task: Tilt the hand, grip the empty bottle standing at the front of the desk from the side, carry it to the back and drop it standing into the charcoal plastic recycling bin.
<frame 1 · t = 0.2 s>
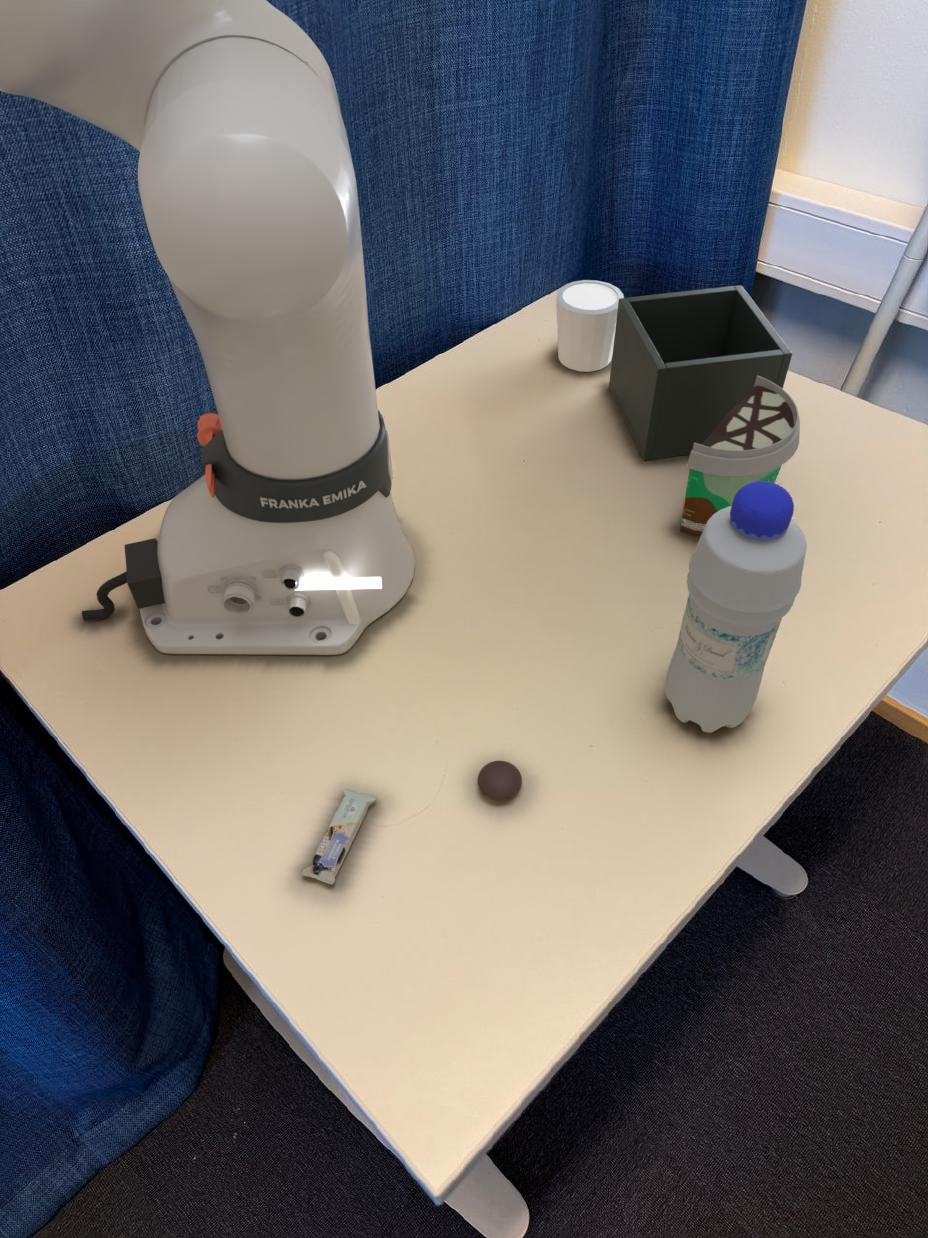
food container: (736, 517, 79), on the table
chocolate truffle: (499, 788, 62), on the table
white cylinder: (584, 358, 96), on the table
bin: (684, 414, 89), on the table
bottle: (705, 706, 66), on the table
granola bar: (340, 839, 59), on the table
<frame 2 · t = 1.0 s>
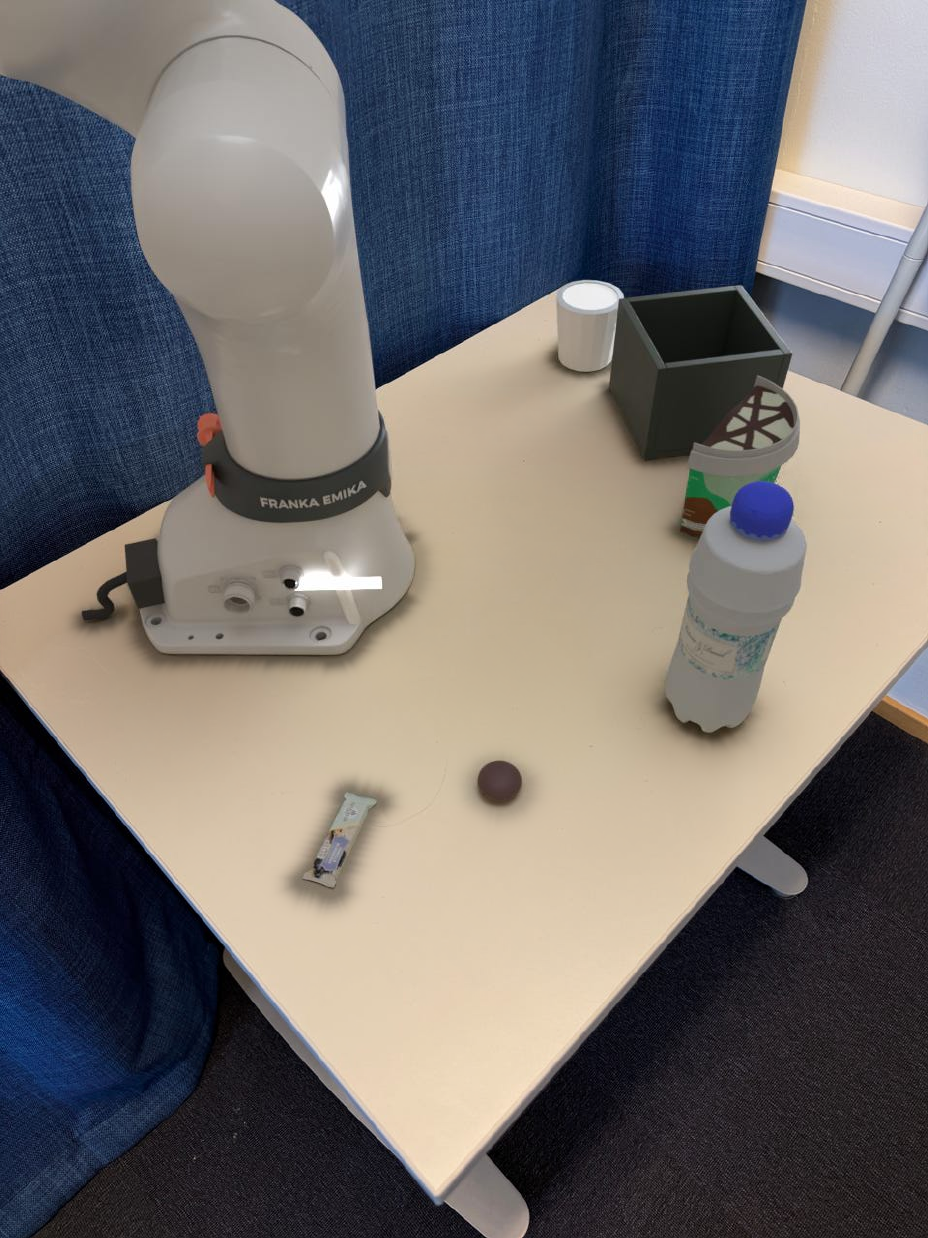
nothing on the table moved.
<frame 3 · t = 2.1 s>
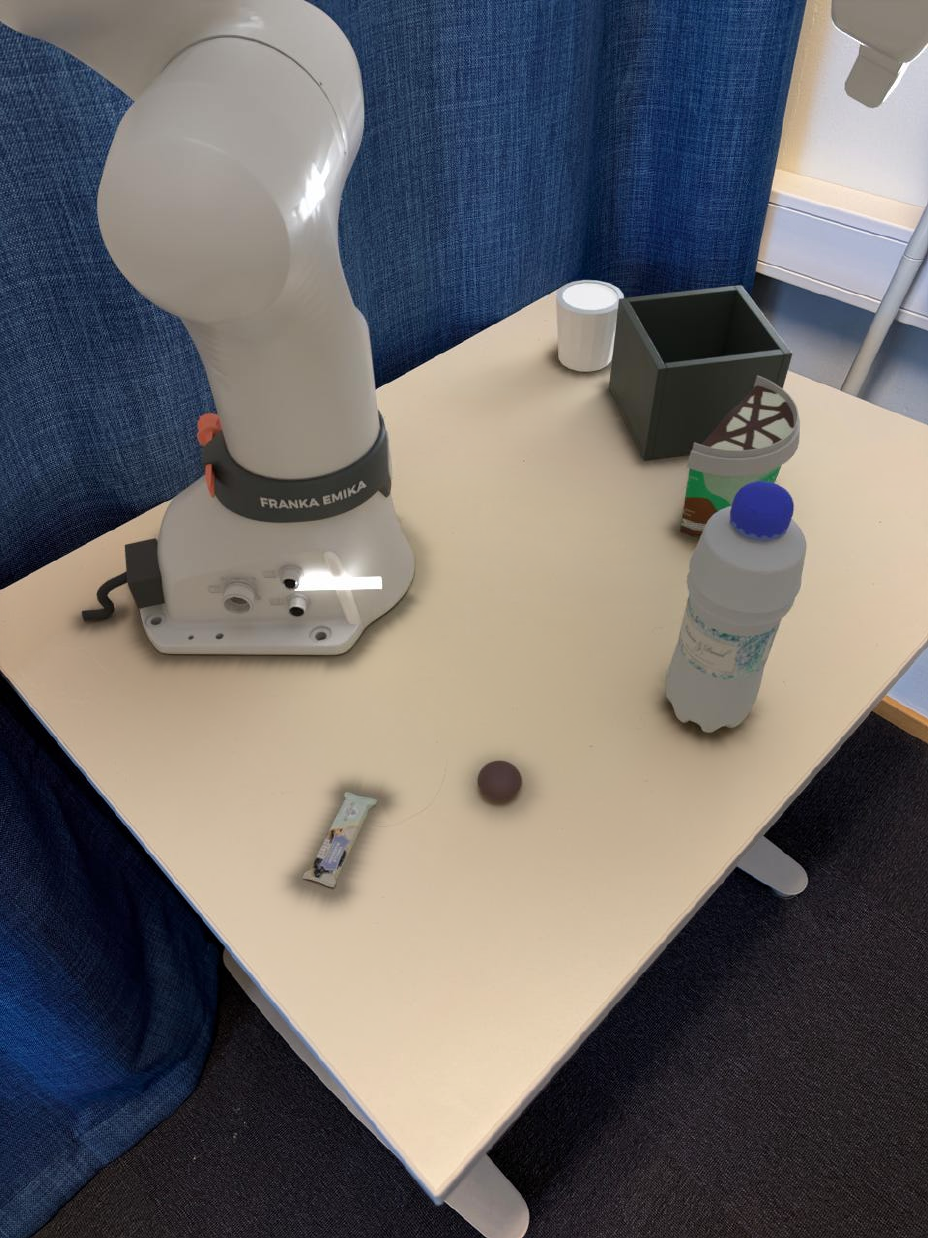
hand: (917, 34, 40), 40 cm above the table, tool tilted 20°, fingers open, 8 cm apart
nothing on the table moved.
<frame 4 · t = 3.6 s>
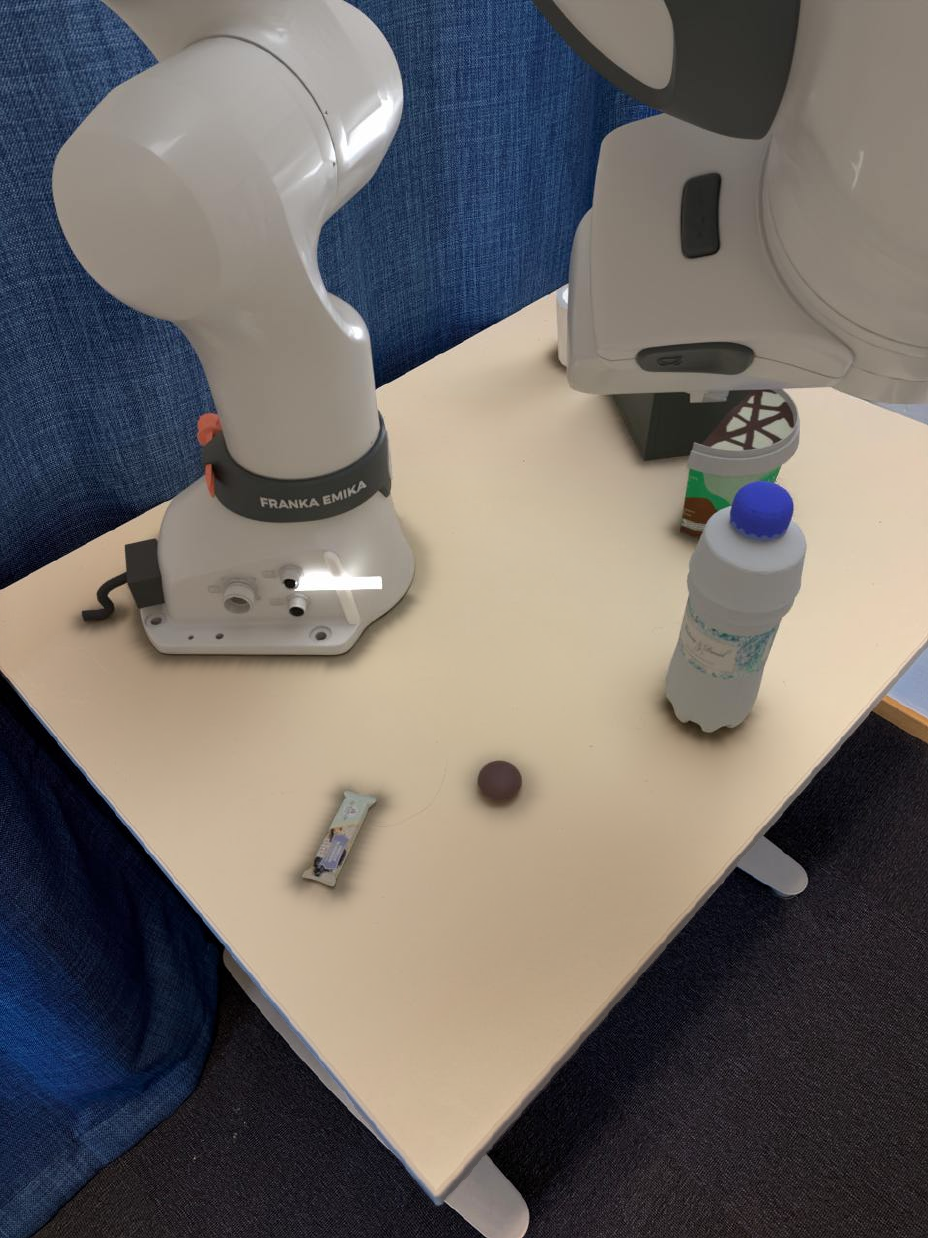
hand: (826, 379, 37), 32 cm above the table, tool tilted 40°, fingers open, 8 cm apart
nothing on the table moved.
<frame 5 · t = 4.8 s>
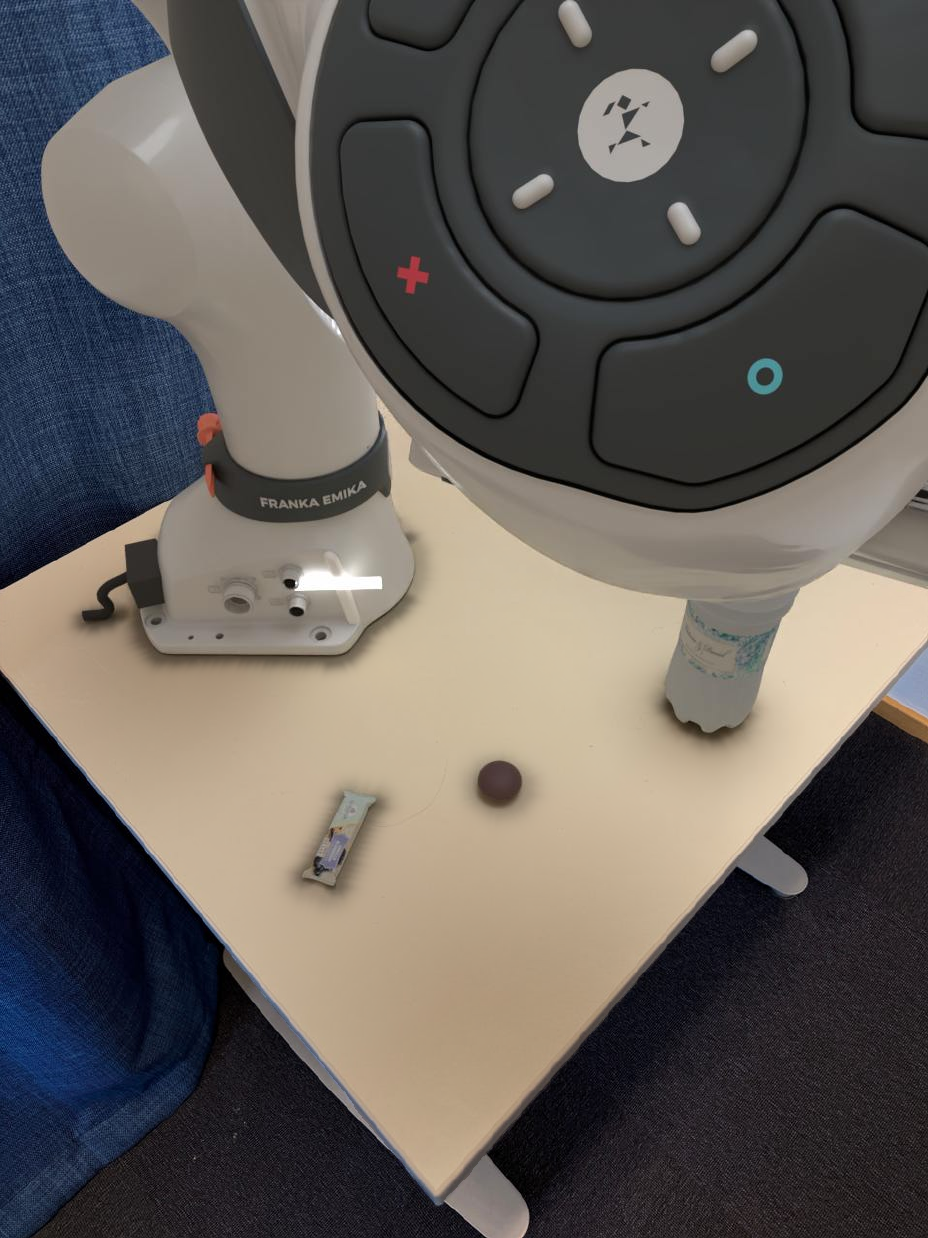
hand: (745, 497, 37), 29 cm above the table, tool tilted 45°, fingers open, 8 cm apart
nothing on the table moved.
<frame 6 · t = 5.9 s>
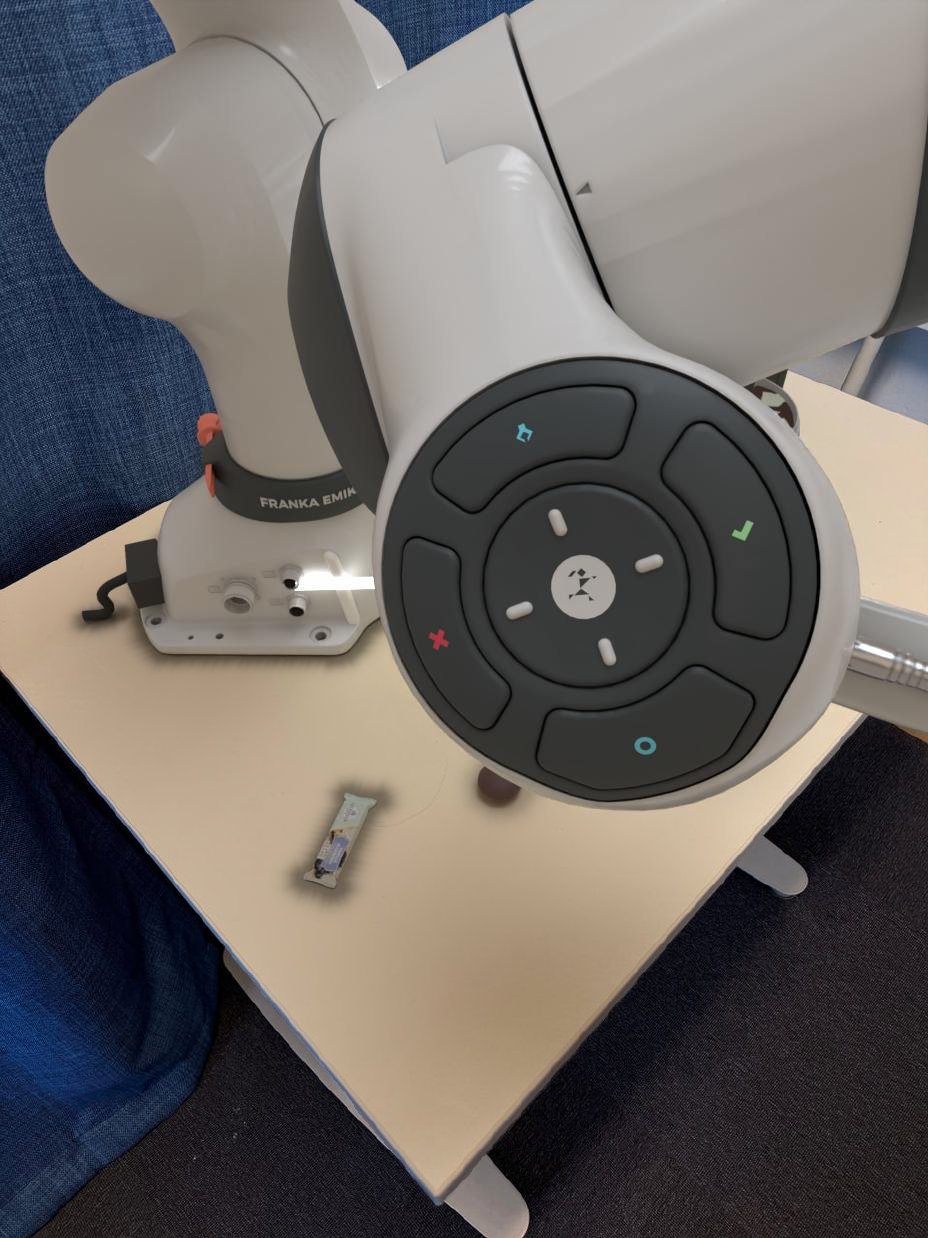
hand: (717, 604, 42), 22 cm above the table, tool tilted 45°, fingers open, 8 cm apart
nothing on the table moved.
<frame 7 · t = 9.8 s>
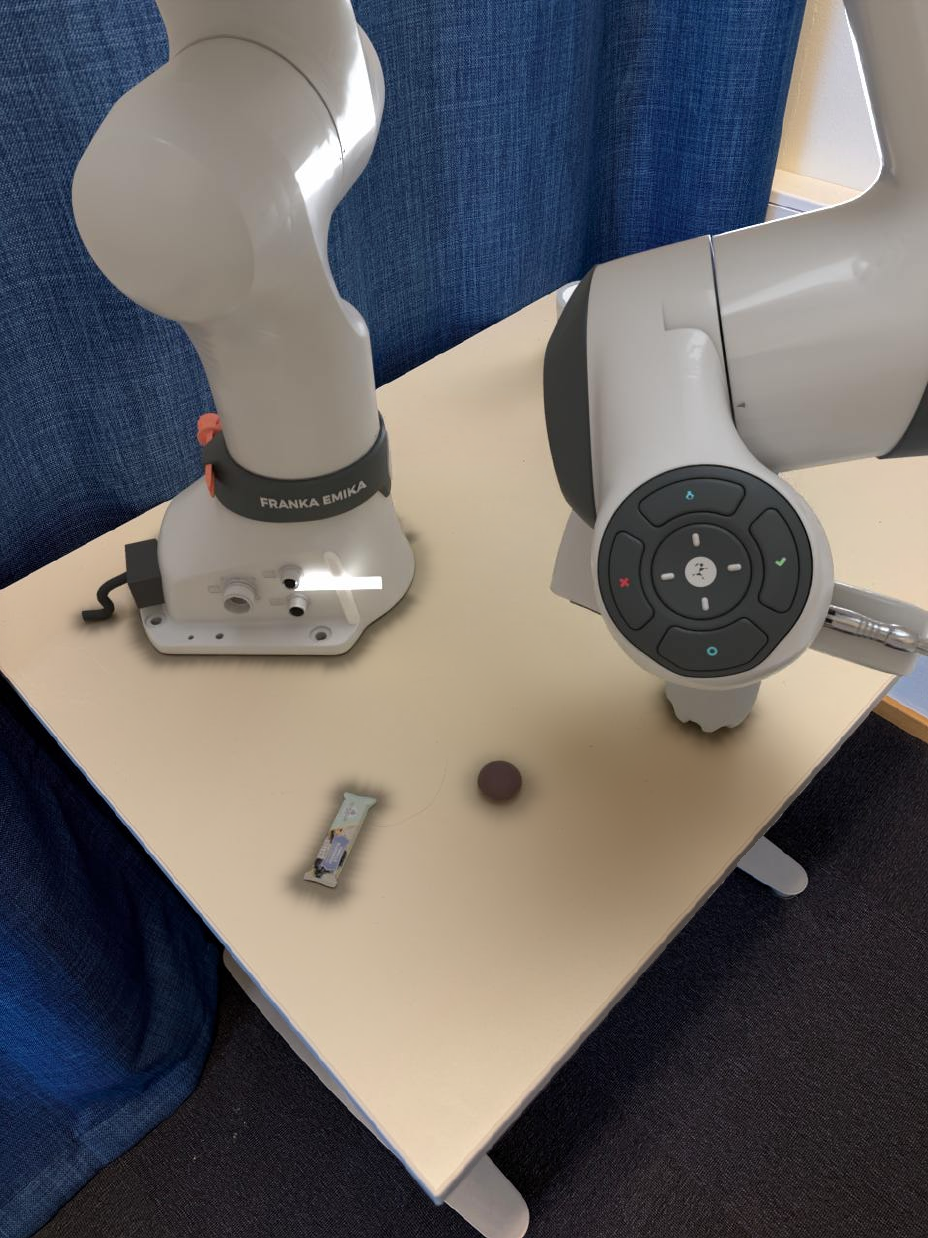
hand: (739, 590, 57), 11 cm above the table, tool tilted 45°, fingers closed on bottle, 6 cm apart
bottle: (705, 706, 66), on the table, touching gripper
everything else where it was.
when the fingers open (12 cm above the table, at t = 24.0 s): bottle stays where it is, resting on bin.
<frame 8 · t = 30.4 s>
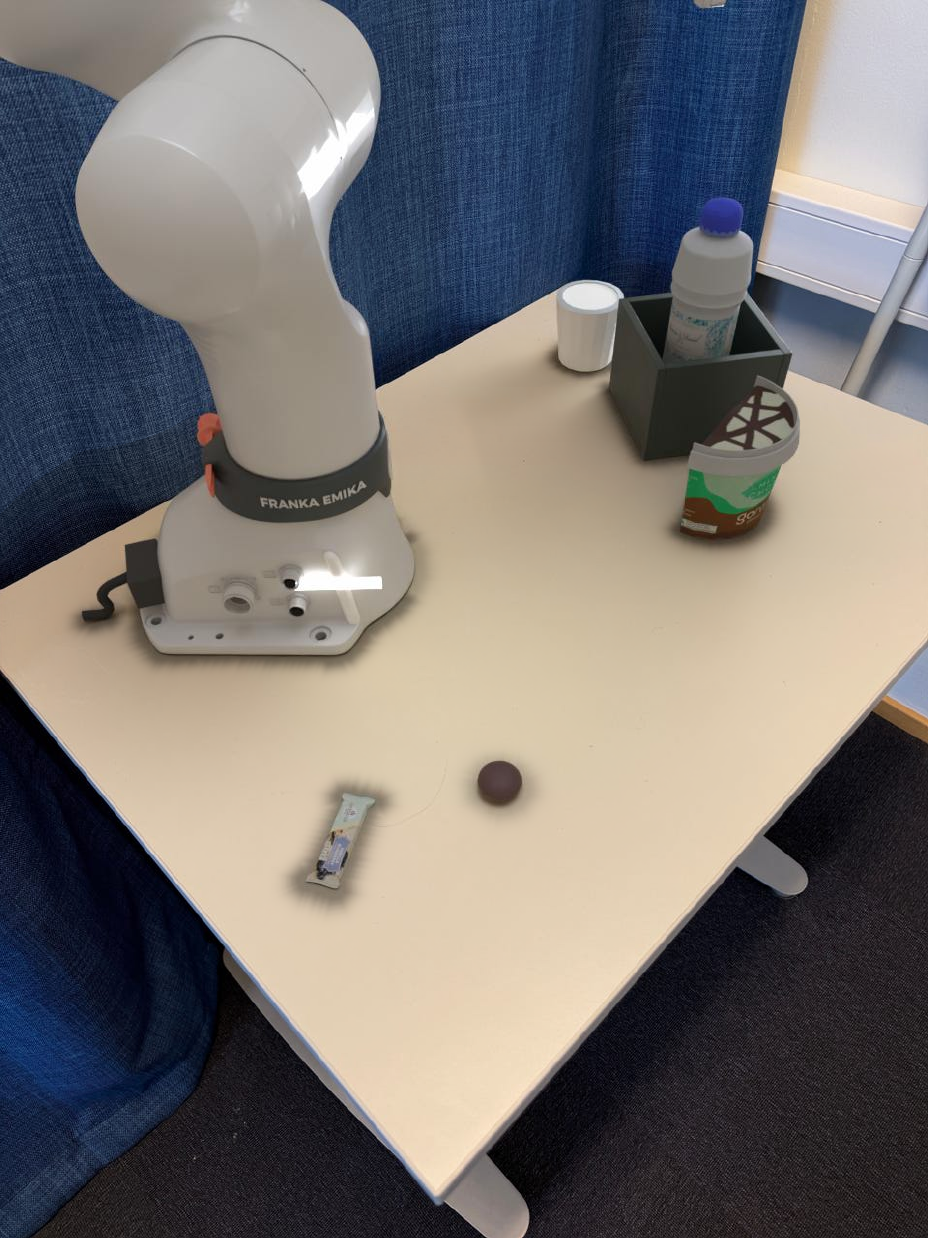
bottle: (685, 409, 89), point 1 cm above the table, touching bin
everything else where it was.
at the end: bottle inside the target area in the bin (0.1 cm from its centre), point 0.6 cm above the bin's base; the gripper is holding nothing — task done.
